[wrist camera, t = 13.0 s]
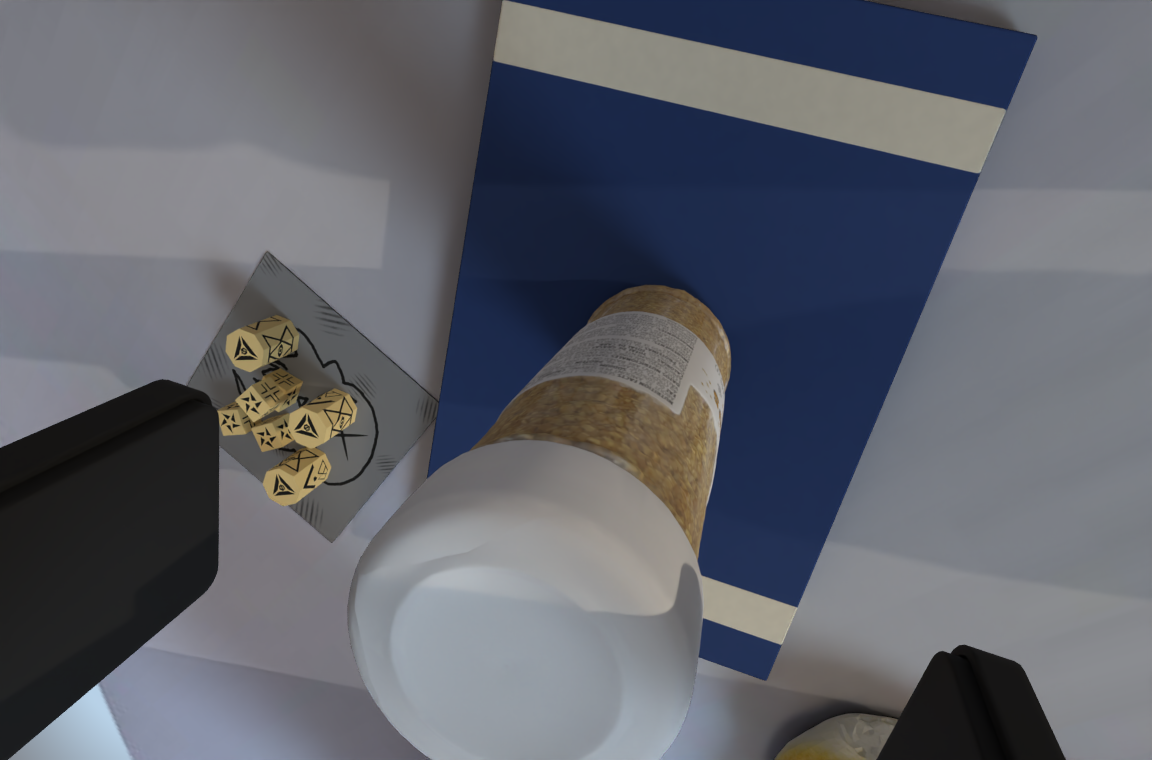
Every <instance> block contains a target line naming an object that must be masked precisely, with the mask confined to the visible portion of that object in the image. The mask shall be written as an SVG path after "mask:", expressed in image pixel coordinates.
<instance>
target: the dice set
mask: <svg viewBox="0 0 1152 760" xmlns="http://www.w3.org/2000/svg"><path fill="white" fill-rule="evenodd" d="M298 338H299V333H298V332H297V331H295V330H294V327H293V325H292V323H291V321H290V320H288V319H285V318H282V317H279V316H276V315H272V316H270V317H267V318H264V319H261V320H259V321H256V322H253V323H250V324H248V325H245V326H242V327H239V328H237V329H236V330H234V331H232V332H231V333H229V334H227V335H226V341H225V353H226V355H227V356H228V358H229V359H230V361H231V363H232V364H233V366H234V367H235V368H238V369H240V370H243V371H245V372H248V373H252V372H254V371H256V370H258V369H260V368H263V367H265V366H267V365H269V364H271V363H274V362H276V361H278V360H280V359H282V358H284V357H286V356H288V355H290V354H292V353H293V352H295V351H296V350H297V349H298V347H297V344H298V342H299V341H298ZM302 383H303V382H302V381H301V380H299V379H297V378H295V377H294V376H292V375H290V374H288V373H286V372H284V371H282V370H281V369H279V368H278V369H276V370H273V371H271V372H269V373H267V374H265V375H263V376H262V378H261V380H260V381H258V382H255V383H253V384H251V385H250V386H249V387H248V388H247V389H246V390H245V391H244V392H242V393H241V394H240V395H239V396H238V397H237V398H236V399H235V400H234V401H235V402H231V403H229V404H227V405H225V406H223V407H221V408H219V409H217V412H218V414H219V429H220V430H221V433H222V436H223V437H227V436H243V435H247V434H248V433H250V432H252V434H253V436H254V438H255V440H256V442H257V445H258V447H259V449H260V451H261V452H262V453H265V452H269V451H273V450H277V449H281V448H284V447H285V446H287V445H288V444H290V443H291V442H293V441H295V442H296V443H297V444H299V445H301V446H303V447H305V448H302V449H301V448H300V449H298V450H297V451H295V452H294V453H292V454H291V455H289V456H288V457H286V458H285V459H283V460H282V461H280V462H279V463H277V464H276V465H274V466H273V467H271V468H270V469H268V470H267V471H266V472H265V475H264V478H263V481H262V483H263V486H264V488H265V490H266V492H267V494H268V496H269V498H270V499H271V500H273V501H275V502H277V503H278V504H280V505H282V506H287V505H288V506H291V505H295V504H297V503H298V502H300V501H301V500H302V499H303V498H305V497H306V496H307V495H308V494H310V493H311V492H312V491H314V490H315V489H316V488H317V487H319V486H320V485H321V484H322V483H324V482H325V481H326V480H327V478H328V475H329V473H330V469H331V466H330V464H329V463H328V462H327V458H326V454H325V453H323V452H322V451H320V450H318V449H316V448H317V447H319V446H321V445H323V444H325V443H326V442H328V441H329V440H331V439H332V438H333V437H335V436H336V435H338V434H339V433H341V432H342V431H343V430H345V429H346V428H348V427H349V426H351V425H352V424H353V423H354V422H355V420H354V419H355V417H356V411H357V407H356V406H354V404H353V402H352V400H351V397H350V395H349V394H348V393H345V392H342V391H339V390H336V389H331V390H329V391H327V392H325V393H323V394H321V395H319V396H317V397H316V398H314V399H312V400H311V401H309V402H307V403H305V404H304V405H302V406H300V407H299V408H297V409H295V410H293V411H292V412H290V413H289V414H288V413H285V414H280V415H277V416H273V417H270V418H266V419H265V420H263V421H261V419H262V418H264V417H266V416H268V415H270V414H271V413H273V412H274V411H276V412H277V413H280V412H282V411H284V410H285V409H287V408H289V407H291V406H293V405H294V404H295V402H296V400H297V396H298V394H299V390H300V388H301V385H302Z"/></svg>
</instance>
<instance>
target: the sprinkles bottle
mask: <svg viewBox="0 0 1152 760" xmlns="http://www.w3.org/2000/svg"><path fill="white" fill-rule="evenodd" d="M730 372H731V350H730V345H729V340H728V338H727V336H726V333H725V331H724V329H723V327H722V325H721V323H720V322H719V320H718V319H717V318H716V317H715V316H714V314H713V313H712V312H711V310H710V309H709V308H708V307H707V306H705V305H704V304H703V303H701V302H700V301H699V300H698V299H696V298H694V297H693V296H692V295H690V294H689V293H687V292H686V291H684V290H680V289H675V288H670V287H667V286H662V285H642V286H638V287H632V288H628V289H625V290H623V291H621V292H620V293H618V294H616V295H614V296H613V297H611V298H609V299H608V300H606V301H605V302H604V303H603V304H602V305H601V306H600V307H599V308H598V309H597V310H596V311H595V312H594V313H593V315H592V316H591V317H590V319H589V321H588V323H587V325H586V326H585V327H584V328H582V329H581V330H580V331H579V332H578V333H577V334H575V335H574V336H573V337H572V338H571V340H570V341H569V342H568V343H567V344H566V345H565V346H564V347H563V348H562V349H561V350H560V351H559V352H558V353H557V354H556V355H555V356H554V357H553V358H552V359H551V360H550V361H549V362H548V363H547V364H546V365H545V366H544V367H543V368H542V369H541V370H540V371H539V372H538V373H537V374H536V376H535V377H534V378H533V379H532V380H531V381H530V382H529V383H528V384H527V385H526V386H525V387H524V388H523V389H522V390H521V391H520V393H519V394H518V395H517V396H516V397H515V398H514V399H513V400H512V401H511V402H510V403H509V404H508V405H507V407H506V408H505V409H504V410H503V411H502V413H501V414H500V416H499V418H498V419H497V421H496V423H495V424H494V425H493V426H492V427H491V428H490V429H489V431H488V432H487V433H486V434H485V436H484V437H483V438H482V439H481V440H480V441H479V442H478V443H477V444H476V445H475V446H474V447H472V449H471V450H470V451H469V452H466V453H463V454H461V455H460V456H458V457H456V458H455V459H453V460H451V461H449V462H448V463H446V464H444V465H443V466H441V467H440V468H439V469H438V470H437V471H436V472H434V473H433V474H432V475H431V476H430V477H429V478H428V479H427V480H426V481H425V482H424V483H423V484H422V485H421V486H420V487H419V488H418V489H417V490H416V491H415V492H414V493H413V494H412V495H411V496H410V497H409V498H408V499H407V500H406V501H405V502H404V503H403V504H402V505H401V507H400V508H399V509H398V510H397V511H396V512H395V513H394V515H393V516H392V517H391V518H390V519H389V520H388V521H387V523H386V524H385V525H384V526H383V527H382V528H381V530H380V531H379V532H378V533H377V534H376V536H375V537H374V538H373V539H372V541H371V542H370V544H369V545H368V547H367V548H366V550H365V551H364V553H363V555H362V556H361V558H360V560H359V563H358V565H357V568H356V570H355V573H354V576H353V579H352V583H351V587H350V593H349V600H348V631H349V637H350V644H351V648H352V652H353V655H354V658H355V661H356V664H357V667H358V670H359V673H360V675H361V677H362V680H363V682H364V684H365V685H366V687H367V689H368V691H369V693H370V694H371V696H372V698H373V700H374V702H375V703H376V704H377V706H378V707H379V708H380V710H381V711H382V712H383V714H384V715H385V716H386V718H387V719H388V720H389V722H390V723H391V724H392V725H393V726H394V727H395V729H396V730H397V731H398V732H399V733H400V734H401V735H402V736H403V737H404V738H405V739H406V740H408V741H409V742H410V743H411V744H412V745H413V746H414V747H415V748H416V749H418V750H419V751H420V752H422V753H423V754H424V755H426V756H427V757H428V758H430V759H431V760H660V759H661V757H662V756H663V755H664V753H665V752H666V751H667V750H668V749H669V748H670V746H671V745H672V743H673V741H674V740H675V738H676V737H677V736H678V734H679V732H680V729H681V727H682V725H683V723H684V721H685V718H686V715H687V712H688V709H689V706H690V702H691V698H692V694H693V689H694V683H695V676H696V670H697V664H698V657H699V650H700V641H701V631H702V621H703V610H704V596H703V584H702V577H701V573H700V569H699V566H698V562H697V560H698V554H699V547H700V541H701V535H702V529H703V522H704V519H705V511H706V506H707V503H708V500H709V496H710V492H711V488H712V484H713V479H714V473H715V468H716V459H717V452H718V446H719V439H720V432H721V425H722V418H723V411H724V400H725V390H726V388H727V385H728V382H729V379H730Z"/></svg>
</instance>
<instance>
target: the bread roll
mask: <svg viewBox="0 0 1152 760" xmlns="http://www.w3.org/2000/svg"><path fill="white" fill-rule="evenodd" d="M897 721H898V719H894V718H890V717H884V716H876V715H868V714H861V713H849V714H844V715H840V716H836V717H833V718H830V719H828V720H825V721H823V722H821V723H820V724H818V725H817V726H815V727H813V728H811V729H809V730H807V731H805V732H804V733H802V734H801V735H799V736H798V737H796V738H794V739H793V740H791V741H789V742H788V743H787V744H786V745H785V746H784V748H783V749H782V750H781V751H780V752H779V753H778V755H777V756H776V758H775V759H774V760H876V759H877V757H878V756H879V754H880V752H881V750H882V748H883V746H884V745H885V743H886V741H887V739H888V737H889V736H890V734H891V732H892V730H893V728H894V727H895V725H896V723H897Z"/></svg>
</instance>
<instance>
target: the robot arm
mask: <svg viewBox="0 0 1152 760" xmlns="http://www.w3.org/2000/svg"><path fill="white" fill-rule="evenodd" d="M218 545H219V414H218V412H217V410H216V409H215V408H214V407H213V406H212V401H211V399H210V397H209V396H208V395H207V394H206V393H204V392H203V391H200V390H197V389H194V388H191V387H188V386H185V385H182V384H179V383H176V382H173V381H170V380H163V379H162V380H158V381H154V382H152V383H149V384H147V385H145V386H142V387H140V388H138V389H135V390H133V391H131V392H128V393H126V394H124V395H122V396H119V397H117V398H115V399H112V400H110V401H108V402H105V403H103V404H101V405H98V406H96V407H94V408H91V409H89V410H87V411H85V412H82V413H80V414H78V415H75V416H73V417H71V418H68V419H66V420H64V421H61V422H59V423H57V424H54V425H52V426H50V427H48V428H45V429H43V430H41V431H38V432H36V433H34V434H31V435H29V436H27V437H24V438H22V439H20V440H17V441H15V442H13V443H10V444H8V445H6V446H4V447H1V448H0V760H8V759H9V758H10V757H12V756H13V755H14V754H15V753H16V752H17V751H18V750H20V749H21V748H22V747H23V746H24V745H26V744H27V743H28V742H29V741H30V740H31V739H33V738H34V737H35V736H36V735H38V734H39V733H40V732H41V731H42V730H43V729H45V728H46V727H47V726H48V725H49V724H50V723H52V722H53V721H54V720H55V719H56V718H58V717H59V716H60V715H61V714H62V713H63V712H65V711H66V710H67V709H68V708H69V707H71V706H72V705H73V704H74V703H75V702H76V701H78V700H79V699H80V698H81V697H82V696H84V695H85V694H86V693H87V692H88V691H89V690H91V689H92V688H93V687H94V686H95V685H97V684H98V683H99V682H100V681H101V680H102V679H104V678H105V677H106V676H107V675H108V674H110V673H111V672H112V671H113V670H114V669H115V668H117V667H118V666H119V665H120V664H121V663H123V662H124V661H125V660H126V659H127V658H128V657H130V656H131V655H132V654H133V653H134V652H136V651H137V650H138V649H139V648H140V647H141V646H143V645H144V644H145V643H146V642H147V641H149V640H150V639H151V638H152V637H153V636H154V635H156V634H157V633H158V632H159V631H160V630H161V629H163V628H164V627H165V626H166V625H167V624H169V623H170V622H171V621H172V620H173V619H174V618H176V617H177V616H178V615H179V614H180V613H182V612H183V611H184V610H185V609H186V608H187V607H189V606H190V605H191V604H192V603H193V602H195V601H196V600H197V599H198V598H199V597H200V596H202V595H203V594H204V593H205V592H206V591H207V590H208V588H209V587H210V586H211V584H212V583H213V581H214V579H215V577H216V574H217V571H218ZM876 760H1066V759H1065V757H1064V755H1063V753H1062V751H1061V748H1060V746H1059V744H1058V742H1057V740H1056V738H1055V735H1054V733H1053V731H1052V729H1051V727H1050V725H1049V722H1048V720H1047V718H1046V716H1045V714H1044V712H1043V710H1042V707H1041V705H1040V703H1039V701H1038V699H1037V697H1036V694H1035V692H1034V690H1033V688H1032V686H1031V684H1030V682H1029V679H1028V677H1027V675H1026V673H1025V671H1024V670H1023V668H1022V667H1021V665H1020V664H1018V663H1016V662H1015V661H1012V660H1009V659H1006V658H1003V657H1000V656H997V655H994V654H991V653H988V652H985V651H982V650H979V649H976V648H973V647H970V646H967V645H959V646H958V647H956V648H955V649H954V650H953V651H952V652H951V654H950V653H947V652H944V651H940V652H938V653H937V654H935V655H934V657H933V658H932V660H931V661H930V663H929V665H928V667H927V669H926V670H925V672H924V674H923V676H922V678H921V680H920V681H919V683H918V685H917V687H916V689H915V690H914V692H913V694H912V696H911V698H910V699H909V701H908V703H907V705H906V707H905V708H904V710H903V712H902V714H901V716H900V718H899V719H898V721H897V723H896V725H895V727H894V728H893V730H892V732H891V734H890V736H889V737H888V739H887V741H886V743H885V745H884V746H883V748H882V750H881V752H880V754H879V756H878V757H877V759H876Z"/></svg>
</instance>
